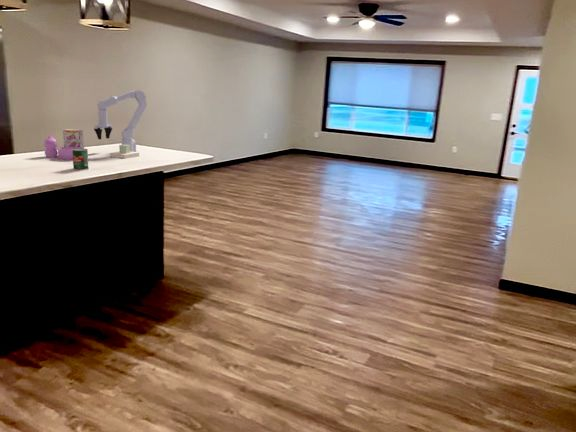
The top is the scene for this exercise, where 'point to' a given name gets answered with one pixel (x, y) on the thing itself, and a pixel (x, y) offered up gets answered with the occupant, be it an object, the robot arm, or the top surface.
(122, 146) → the sage cube
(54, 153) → the container set
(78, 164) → the canned tomato
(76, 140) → the candy bar box
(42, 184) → the top surface
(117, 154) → the cream block
